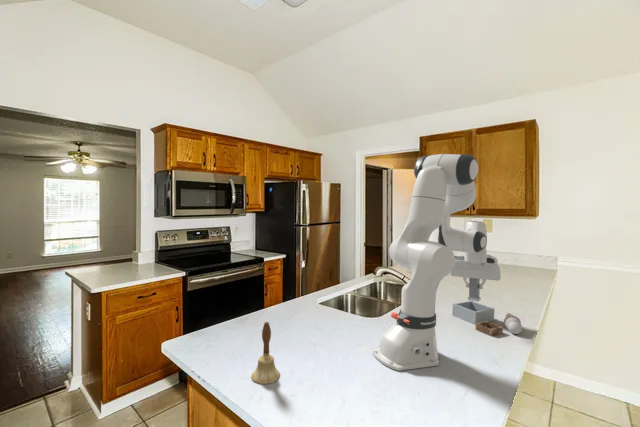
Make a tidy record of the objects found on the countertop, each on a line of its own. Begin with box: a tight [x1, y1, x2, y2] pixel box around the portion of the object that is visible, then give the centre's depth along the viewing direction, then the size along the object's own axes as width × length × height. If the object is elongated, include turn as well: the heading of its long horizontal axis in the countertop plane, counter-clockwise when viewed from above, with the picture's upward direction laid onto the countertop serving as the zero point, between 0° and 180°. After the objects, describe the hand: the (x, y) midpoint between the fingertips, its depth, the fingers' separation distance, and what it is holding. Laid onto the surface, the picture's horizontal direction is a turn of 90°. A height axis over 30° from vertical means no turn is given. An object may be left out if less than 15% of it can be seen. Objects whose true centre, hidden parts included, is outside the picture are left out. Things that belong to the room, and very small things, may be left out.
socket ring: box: [475, 321, 504, 337], centre depth 126 cm, size 7×7×2 cm
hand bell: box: [250, 321, 281, 385], centre depth 91 cm, size 8×8×16 cm
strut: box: [467, 278, 481, 303], centre depth 141 cm, size 4×4×13 cm
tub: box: [451, 300, 495, 326], centre depth 141 cm, size 12×12×5 cm
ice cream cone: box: [503, 312, 522, 335], centre depth 129 cm, size 6×6×15 cm
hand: (474, 287), depth 141 cm, fingers closed on strut, 4 cm apart
